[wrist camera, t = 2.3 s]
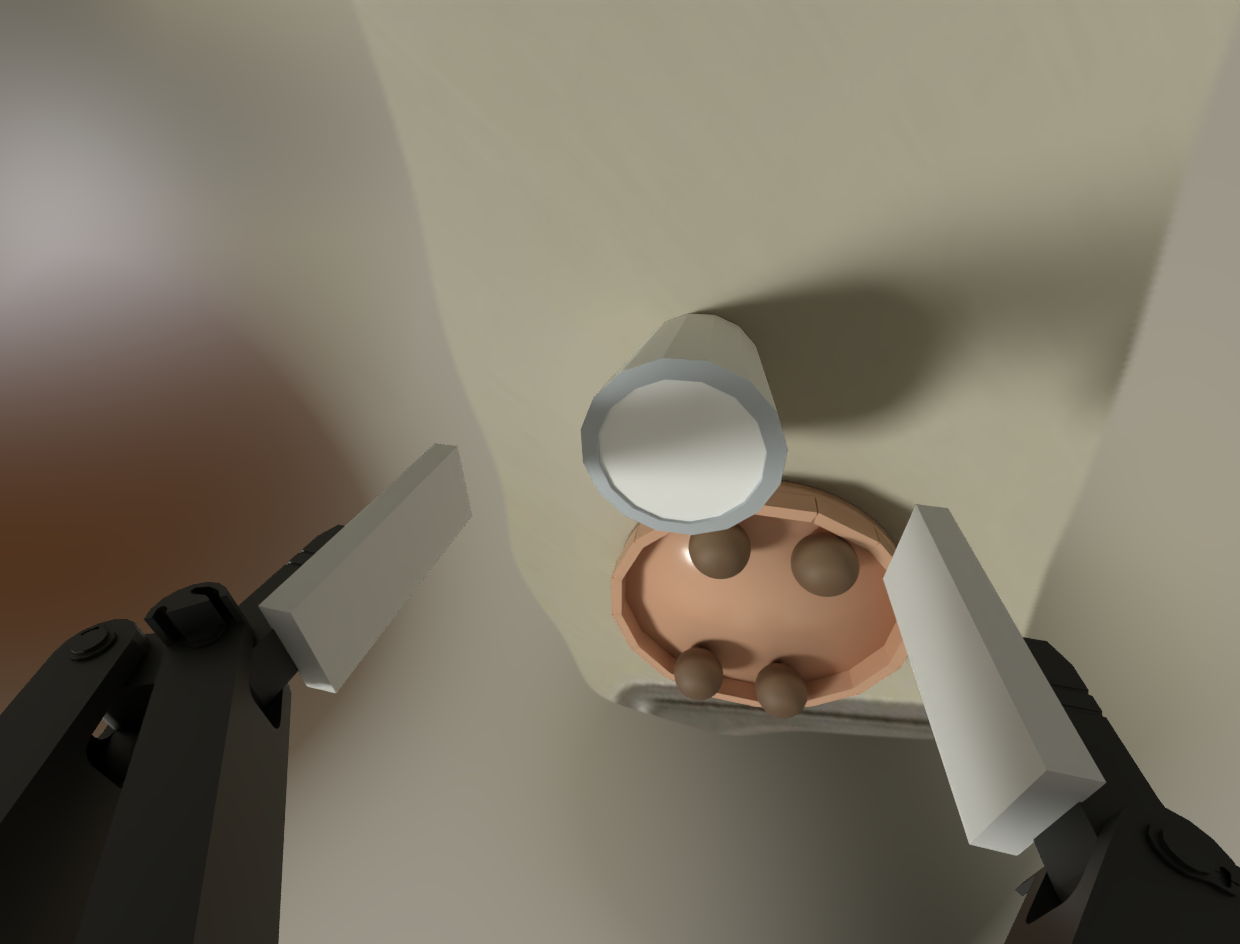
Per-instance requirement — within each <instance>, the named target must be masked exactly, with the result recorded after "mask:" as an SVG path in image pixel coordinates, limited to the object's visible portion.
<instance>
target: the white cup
mask: <svg viewBox="0 0 1240 944" xmlns="http://www.w3.org/2000/svg"><path fill="white" fill-rule="evenodd" d="M581 439H582V453H583V463H584V465H585V467H586V469H587V471H588V473H589V475H590V477H591V479H592V481H593V482H594V484H595V486H596V488H597V490H598V492H599V493H600V494H601V495H602V496H603V497H604V498H605V499H606V500H608V501H609V502H610V503H611V504H612V505H613V506H614V507H615V508H616V509H617V510H619V511H620V512H621V513H622V514H623V515H624V516H626V517H628V518H631V519H633V520H635V521H637V522H639V523H641V524H644V525H646V526H648V527H650V528H652V529H655V530H658V531H665V532H673V533H680V534H688V535H696V534H702V533H707V532H713V531H719V530H725V529H729V528H730V527H732V526H734V525H736V524H738V523H739V522H741V521H743V520H745V519H747V518H748V517H750V516H752V515H754V514H756V513H757V512H759V511H760V510H761V508H762V507H763V506H764V505H765V503H766V502H767V501H768V499H769V498H770V497H771V496H772V494H773V493H774V492H775V491H776V489H777V488H778V487H779V486H780V484H781V479H782V475H783V470H784V465H785V461H786V456H787V451H788V448H787V445H786V441H785V437H784V434H783V430H782V427H781V423H780V419H779V416H778V412H777V409H776V406H775V403H774V400H773V397H772V394H771V391H770V388H769V385H768V382H767V379H766V376H765V373H764V370H763V367H762V364H761V360H760V357H759V354H758V351H757V348H756V345H755V344H754V343H753V342H752V341H751V340H750V338H749V337H748V336H747V335H746V334H745V333H744V331H743V330H742V329H741V328H740V327H739V326H738V325H736V324H733V323H731V322H729V321H727V320H725V319H723V318H721V317H719V316H717V315H708V314H686V315H684V316H681V317H678V318H675V319H673V320H670V321H667V322H664V323H663V324H662V325H661V326H660V327H659V328H658V329H657V330H656V331H655V332H654V333H652V334H651V335H650V336H649V337H648V338H647V339H646V340H645V341H644V342H643V343H642V345H641V346H640V347H639V348H638V349H637V350H636V351H635V352H634V353H633V354H632V356H631V357H630V358H629V359H628V360H627V361H626V362H625V363H624V364H623V365H622V367H621V368H620V369H619V370H618V371H617V372H616V373H615V374H614V375H613V377H612V378H611V379H610V380H609V381H608V382H607V383H606V384H605V385H604V386H603V388H602V389H601V390H600V391H599V392H598V393H597V394H596V395H595V396H594V398H593V400H592V403H591V405H590V408H589V410H588V413H587V415H586V418H585V420H584V423H583V425H582V428H581Z"/></svg>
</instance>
